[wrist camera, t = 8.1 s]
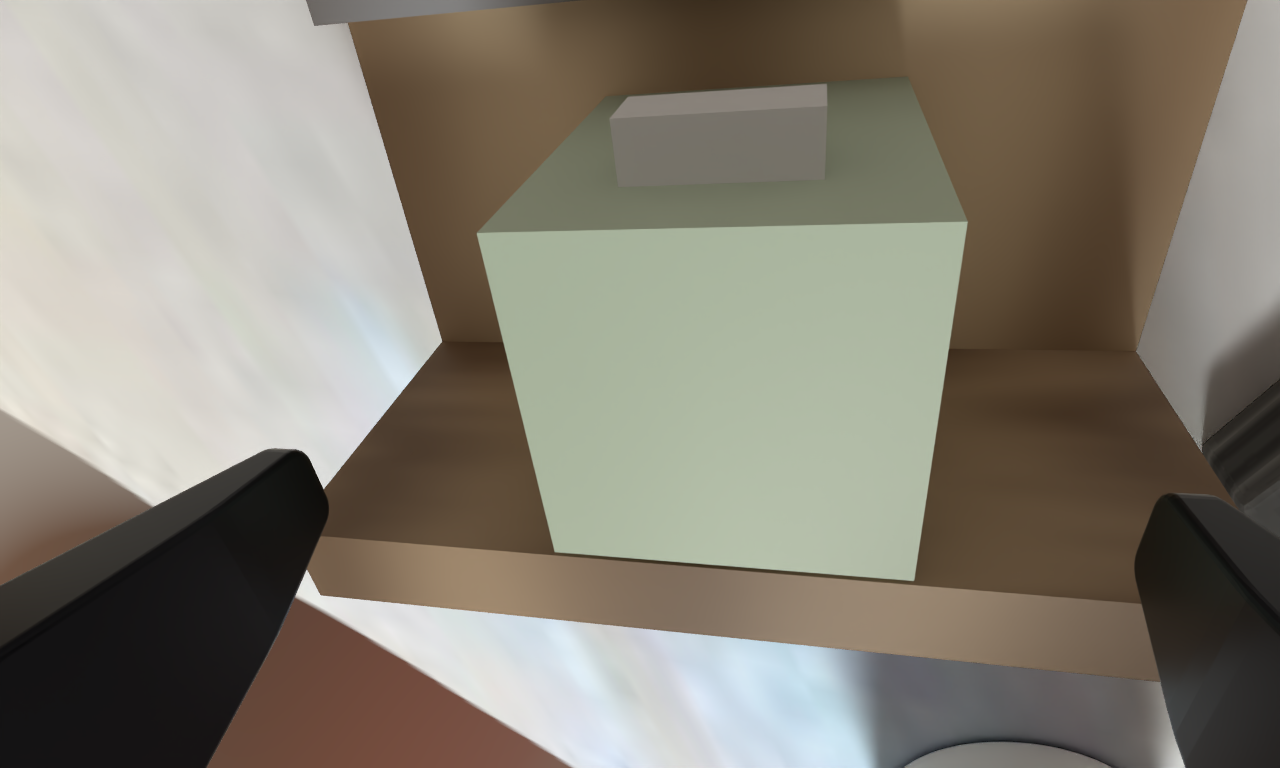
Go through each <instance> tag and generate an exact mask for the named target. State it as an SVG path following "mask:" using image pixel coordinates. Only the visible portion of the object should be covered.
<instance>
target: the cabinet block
mask: <svg viewBox="0 0 1280 768" xmlns="http://www.w3.org/2000/svg"><path fill="white" fill-rule="evenodd" d="M967 223H968V221H967V219H966V216H965V214H964V211H963V209H962V206H961V204H960V202H959V199H958V197H957V194H956V192H955V190H954V187H953V185H952V182H951V180H950V177H949V175H948V173H947V170H946V168H945V165H944V163H943V160H942V158H941V156H940V153H939V151H938V148H937V146H936V143H935V141H934V139H933V136H932V134H931V131H930V129H929V127H928V124H927V122H926V119H925V117H924V114H923V112H922V110H921V107H920V105H919V102H918V100H917V97H916V95H915V93H914V90H913V88H912V85H911V83H910V80H909V78H908V77H893V78H877V79H862V80H847V81H831V82H816V83H801V84H786V85H770V86H755V87H740V88H724V89H709V90H694V91H679V92H663V93H648V94H633V95H617V96H606V97H605V98H604V99H603V100H602V101H601V102H600V103H599V104H598V105H597V106H596V107H595V108H594V110H593V111H592V112H591V113H590V114H589V115H588V116H587V117H586V118H585V119H584V120H583V121H582V122H581V123H580V124H579V125H578V126H577V127H576V129H575V130H574V131H573V132H572V133H571V134H570V135H569V136H568V137H567V138H566V139H565V140H564V141H563V142H562V143H561V144H560V145H559V146H558V148H557V149H556V150H555V151H554V152H553V153H552V154H551V155H550V156H549V157H548V158H547V159H546V160H545V161H544V162H543V163H542V164H541V165H540V167H539V168H538V169H537V170H536V171H535V172H534V173H533V174H532V175H531V176H530V177H529V178H528V179H527V180H526V181H525V182H524V183H523V184H522V186H521V187H520V188H519V189H518V190H517V191H516V192H515V193H514V194H513V195H512V196H511V197H510V198H509V199H508V200H507V201H506V202H505V203H504V205H503V206H502V207H501V208H500V209H499V210H498V211H497V212H496V213H495V214H494V215H493V216H492V217H491V218H490V219H489V220H488V221H487V222H486V224H485V225H484V226H483V227H482V228H481V229H480V230H479V231H478V232H477V237H478V241H479V245H480V249H481V253H482V257H483V261H484V265H485V269H486V273H487V277H488V281H489V286H490V290H491V294H492V298H493V302H494V306H495V310H496V314H497V318H498V322H499V326H500V330H501V335H502V339H503V343H504V347H505V351H506V355H507V359H508V363H509V367H510V371H511V375H512V379H513V384H514V388H515V392H516V396H517V400H518V404H519V408H520V412H521V416H522V420H523V424H524V428H525V433H526V437H527V441H528V445H529V449H530V453H531V457H532V461H533V465H534V469H535V473H536V478H537V482H538V486H539V490H540V494H541V498H542V502H543V506H544V510H545V514H546V518H547V522H548V527H549V531H550V535H551V539H552V543H553V547H554V551H555V552H560V553H572V554H585V555H597V556H610V557H622V558H634V559H647V560H659V561H672V562H684V563H696V564H709V565H721V566H734V567H746V568H758V569H771V570H783V571H796V572H808V573H820V574H833V575H845V576H857V577H870V578H882V579H895V580H907V581H914V578H915V572H916V565H917V558H918V552H919V545H920V538H921V532H922V525H923V518H924V511H925V505H926V498H927V491H928V485H929V478H930V471H931V465H932V458H933V451H934V444H935V438H936V431H937V424H938V418H939V411H940V404H941V398H942V391H943V384H944V377H945V371H946V364H947V357H948V351H949V344H950V337H951V331H952V324H953V317H954V310H955V304H956V297H957V290H958V284H959V277H960V270H961V264H962V257H963V250H964V243H965V237H966V230H967Z"/></svg>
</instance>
